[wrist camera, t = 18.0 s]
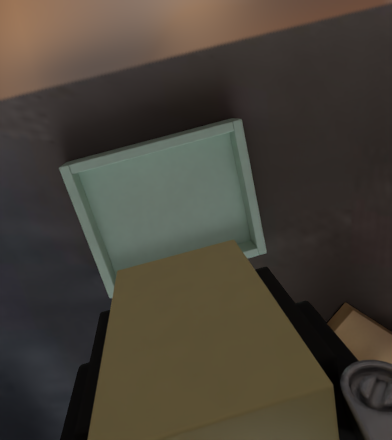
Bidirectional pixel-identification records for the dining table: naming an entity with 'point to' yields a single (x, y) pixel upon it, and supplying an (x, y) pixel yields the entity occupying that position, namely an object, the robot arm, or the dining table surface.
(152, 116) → the dining table surface
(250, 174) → the butter dish
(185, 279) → the butter
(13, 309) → the dining table surface
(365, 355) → the slicer
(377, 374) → the robot arm
